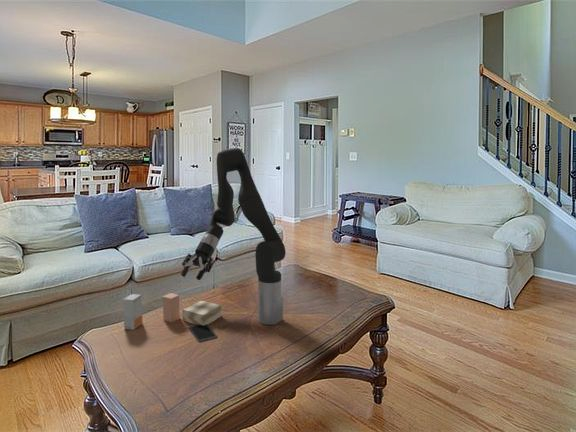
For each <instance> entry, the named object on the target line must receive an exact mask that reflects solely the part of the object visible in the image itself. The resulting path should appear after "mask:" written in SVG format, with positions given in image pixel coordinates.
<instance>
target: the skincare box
mask: <svg viewBox="0 0 576 432" xmlns="http://www.w3.org/2000/svg"><path fill="white" fill-rule="evenodd" d="M142 304H143V303H142V294H134V293H132V294H130V295H128V296H126V297H124V298H123V299H122V305H123V310H122V311H123V325H124V329H125V330H132V331H133V330H135V329H136V328H138V327H139V326H141V325H142V324H143V305H142Z"/></svg>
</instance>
